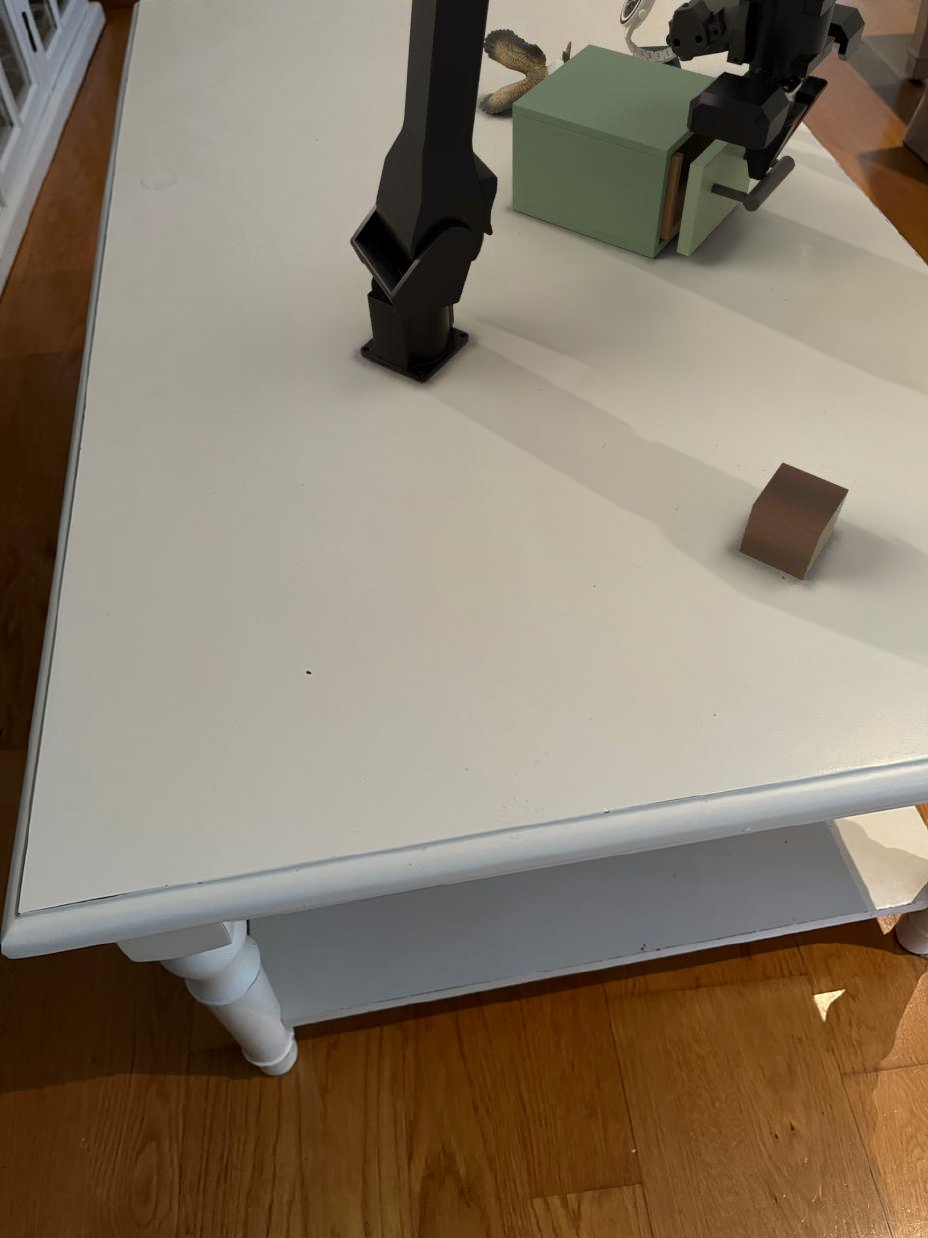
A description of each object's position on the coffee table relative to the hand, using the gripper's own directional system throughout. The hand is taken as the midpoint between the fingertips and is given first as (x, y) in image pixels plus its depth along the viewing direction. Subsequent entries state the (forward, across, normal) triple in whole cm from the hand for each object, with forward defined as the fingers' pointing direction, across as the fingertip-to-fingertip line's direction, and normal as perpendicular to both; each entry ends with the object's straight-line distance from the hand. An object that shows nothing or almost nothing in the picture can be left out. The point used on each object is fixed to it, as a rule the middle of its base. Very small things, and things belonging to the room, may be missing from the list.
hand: (756, 177), depth 80 cm
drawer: (+5, 0, -7) cm, 9 cm away
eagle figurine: (+6, -11, -30) cm, 32 cm away
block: (+6, +30, +17) cm, 35 cm away
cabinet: (+6, 0, -13) cm, 14 cm away
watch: (+6, -20, -20) cm, 29 cm away
